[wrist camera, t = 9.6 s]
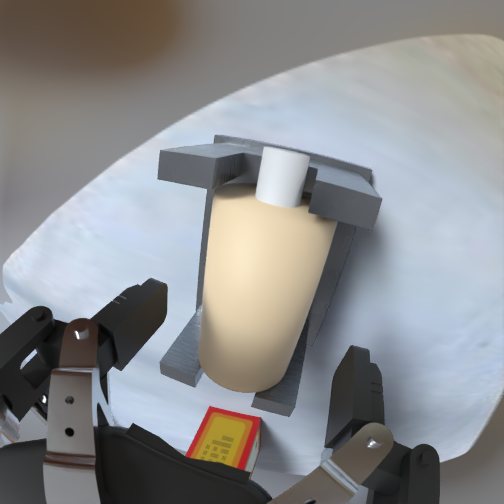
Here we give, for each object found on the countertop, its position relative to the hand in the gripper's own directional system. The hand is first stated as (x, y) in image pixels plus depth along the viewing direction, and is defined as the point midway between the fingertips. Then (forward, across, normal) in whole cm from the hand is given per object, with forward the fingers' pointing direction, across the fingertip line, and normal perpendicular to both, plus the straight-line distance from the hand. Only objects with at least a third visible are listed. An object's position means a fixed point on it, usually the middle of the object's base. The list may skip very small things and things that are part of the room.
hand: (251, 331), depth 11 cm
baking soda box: (+10, -1, +27) cm, 29 cm away
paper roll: (+6, +1, 0) cm, 6 cm away
